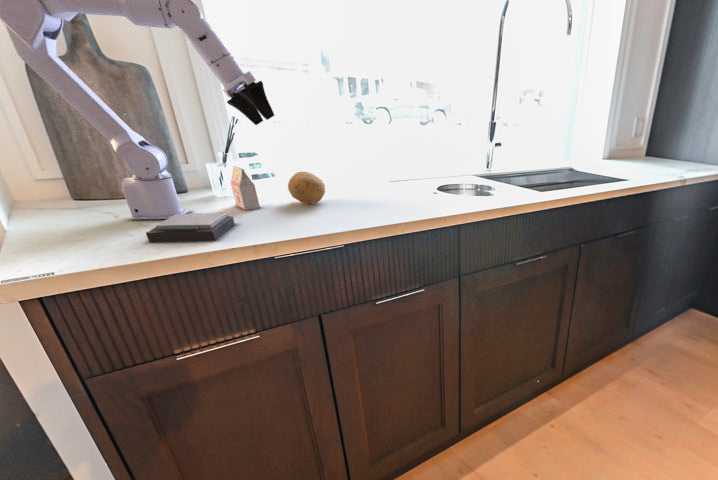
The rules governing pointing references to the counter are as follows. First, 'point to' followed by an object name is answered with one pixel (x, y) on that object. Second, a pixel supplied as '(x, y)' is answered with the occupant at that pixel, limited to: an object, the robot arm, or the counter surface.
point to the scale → (191, 228)
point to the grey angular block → (244, 190)
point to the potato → (306, 187)
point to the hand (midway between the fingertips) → (265, 120)
